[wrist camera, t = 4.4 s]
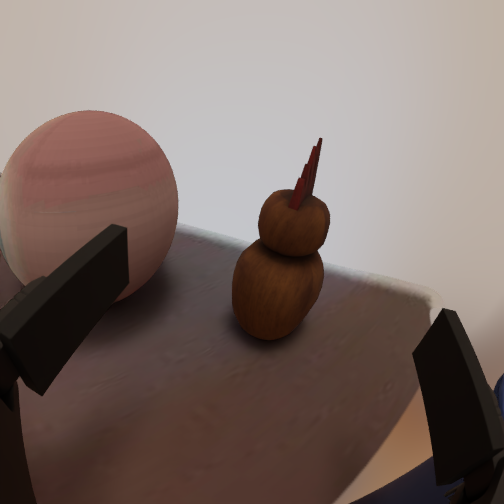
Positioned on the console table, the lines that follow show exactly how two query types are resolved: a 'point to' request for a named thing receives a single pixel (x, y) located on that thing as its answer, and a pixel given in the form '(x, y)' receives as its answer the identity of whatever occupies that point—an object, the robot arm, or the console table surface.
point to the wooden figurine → (283, 260)
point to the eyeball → (86, 195)
